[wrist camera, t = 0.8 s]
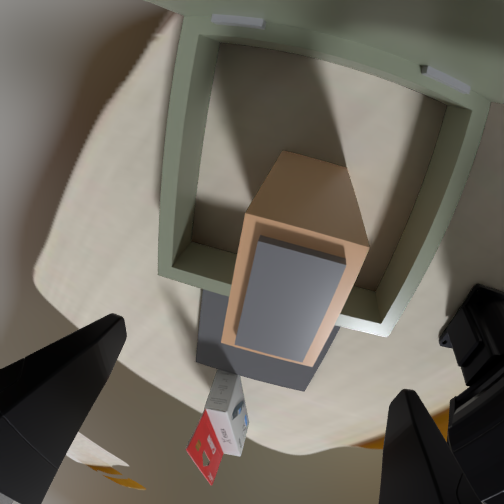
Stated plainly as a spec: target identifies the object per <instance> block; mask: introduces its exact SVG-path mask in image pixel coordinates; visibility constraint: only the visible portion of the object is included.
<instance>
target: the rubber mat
mask: <svg viewBox="0 0 504 504" xmlns="http://www.w3.org/2000/svg"><path fill="white" fill-rule="evenodd" d="M228 301H229V297H228V296H225V295H221V294H218V293H214V292H211V291H208V290H204V289H203V295H202V304H201V313H200V323H199V333H198V343H197V354H196V362H198V363H201V364H204V365H207V366H210V367H213V368H216V369H220V370H223V371H226V372H230V373H233V374H237V375H240V376H244V377H247V378H251V379H254V380H258V381H262V382H266V383H270V384H274V385H278V386H282V387H286V388H290V389H295V390H299V391H305V390H306V388H307V386H308V384H309V383H310V381H311V379H312V378H313V376H314V374H315V372H316V371H317V369H318V367H319V365H320V364H321V362H322V360H323V358H324V357H325V355H326V353H327V351H328V349H329V347H330V346H331V344H332V342H333V340H334V338H335V336H336V334H337V332H338V330H339V329H340V327H341V326H336V325H334V327H333V329H332V331H331V333H330V335H329V337H328V339H327V341H326V343H325V345H324V346H323V348H322V350H321V352H320V354H319V356H318V358H317V360H316V361H315V363H314V365H313V367H310V366H306V365H302V364H297V363H293V362H289V361H285V360H281V359H277V358H274V357H270V356H266V355H262V354H259V353H255V352H251V351H248V350H244V349H241V348H237V347H234V346H230V345H227V344H224V343H221V340H222V334H223V329H224V323H225V318H226V312H227V307H228Z"/></svg>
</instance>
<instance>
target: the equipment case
mask: <svg viewBox="0 0 504 504" xmlns="http://www.w3.org/2000/svg"><path fill="white" fill-rule="evenodd" d="M145 1H147V2H150V3H153V4H156V5H158V6H161V7H164V8H166V9H168V10H171V11H173V12H176V13H178V14H181V15H183V16H184V19H183V24H182V29H181V34H180V39H179V45H178V50H177V56H176V62H175V68H174V74H173V81H172V87H171V94H170V102H169V109H168V117H167V126H166V135H165V145H164V155H163V167H162V180H161V195H160V212H159V237H158V275H159V276H162V277H166V278H169V279H172V280H175V281H178V282H182V283H185V284H188V285H191V286H195V287H198V288H201V289H204V290H208V291H211V292H214V293H218V294H221V295H225V296H228V297H229V296H230V291H231V285H232V280H233V275H234V269H235V264H236V259H237V254H234V253H230V252H227V251H223V250H219V249H216V248H212V247H209V246H205V245H201V244H198V243H194V242H191V239H192V229H193V219H194V210H195V201H196V192H197V184H198V176H199V168H200V161H201V153H202V146H203V139H204V132H205V126H206V119H207V113H208V107H209V101H210V95H211V89H212V83H213V77H214V72H215V66H216V61H217V56H218V51H219V46H220V42H221V43H230V44H239V45H247V46H254V47H260V48H266V49H272V50H278V51H283V52H288V53H293V54H298V55H303V56H307V57H311V58H316V59H320V60H324V61H327V62H331V63H335V64H339V65H342V66H346V67H349V68H352V69H356V70H359V71H362V72H365V73H368V74H371V75H374V76H377V77H380V78H383V79H386V80H389V81H391V82H394V83H397V84H399V85H402V86H404V87H407V88H409V89H412V90H414V91H417V92H419V93H421V94H424V95H426V96H428V97H431V98H433V99H435V100H437V101H440V102H442V103H444V104H446V105H447V108H446V112H445V116H444V119H443V123H442V126H441V130H440V133H439V136H438V139H437V143H436V146H435V149H434V152H433V155H432V158H431V161H430V164H429V167H428V170H427V173H426V176H425V178H424V181H423V184H422V187H421V189H420V192H419V195H418V197H417V200H416V202H415V205H414V207H413V210H412V212H411V215H410V217H409V220H408V222H407V225H406V227H405V229H404V232H403V234H402V236H401V239H400V241H399V243H398V245H397V248H396V250H395V252H394V254H393V257H392V259H391V261H390V263H389V265H388V267H387V269H386V271H385V274H384V276H383V278H382V280H381V282H380V284H379V286H378V288H377V290H376V292H374V291H370V290H367V289H363V288H359V287H355V286H353V287H352V289H351V292H350V294H349V296H348V298H347V300H346V302H345V304H344V306H343V309H342V311H341V313H340V315H339V317H338V319H337V321H336V323H335V325H336V326H341V327H345V328H349V329H353V330H357V331H362V332H366V333H370V334H375V335H379V336H383V337H388V336H389V334H390V333H391V331H392V330H393V328H394V326H395V325H396V323H397V322H398V320H399V318H400V317H401V315H402V313H403V312H404V310H405V308H406V307H407V305H408V303H409V302H410V300H411V298H412V296H413V295H414V293H415V291H416V289H417V287H418V286H419V284H420V282H421V280H422V278H423V276H424V274H425V273H426V271H427V269H428V267H429V265H430V263H431V261H432V259H433V257H434V255H435V253H436V251H437V249H438V247H439V245H440V243H441V241H442V238H443V236H444V234H445V232H446V230H447V228H448V225H449V223H450V221H451V219H452V216H453V214H454V212H455V209H456V207H457V204H458V202H459V199H460V197H461V194H462V192H463V189H464V187H465V184H466V181H467V179H468V176H469V173H470V171H471V168H472V165H473V162H474V159H475V156H476V153H477V150H478V147H479V144H480V140H481V137H482V134H483V130H484V127H485V123H486V120H487V116H488V112H489V108H490V104H491V102H496V103H501V104H504V0H145Z"/></svg>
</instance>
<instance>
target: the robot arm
mask: <svg viewBox="0 0 504 504" xmlns="http://www.w3.org/2000/svg"><path fill="white" fill-rule="evenodd" d="M478 290H479V291H478ZM477 291H478V292H477ZM126 337H127V333H126V327H125V321H124V318H123V317H122V316H119V315H117V314H114V313H111V314H109V315H107V316H105V317H103V318H101V319H99V320H97V321H95V322H93V323H91V324H89V325H87V326H85V327H83V328H81V329H79V330H77V331H75V332H73V333H71V334H69V335H67V336H66V337H63V338H61V339H60V340H58V341H56V342H54V343H52V344H50V345H48V346H46V347H44V348H42V349H40V350H38V351H36V352H34V353H32V354H30V355H28V356H27V357H25V359H24V358H23V359H20V360H18V361H17V362H15V363H12V364H10V365H8V366H6V367H4V368H2V369H0V504H12V503H13V501H16V502H18V503H20V504H41V503H42V501H43V499H44V497H45V495H46V493H47V491H48V489H49V487H50V485H51V482H52V481H53V479H54V476H55V475H56V473H57V471H58V468H59V466H60V465H61V463H62V461H63V459H64V457H65V455H66V453H67V451H68V449H69V447H70V446H71V444H72V442H73V440H74V438H75V436H76V435H77V433H78V431H79V429H80V427H81V425H82V423H83V422H84V420H85V418H86V416H87V415H88V413H89V411H90V409H91V407H92V406H93V404H94V402H95V401H96V399H97V397H98V395H99V394H100V392H101V390H102V388H103V387H104V385H105V383H106V382H107V380H108V378H109V376H110V374H111V372H112V370H113V367H114V365H115V363H116V361H117V358H118V356H119V354H120V352H121V350H122V347H123V345H124V343H125V341H126ZM439 344H440V346H443V347H448V348H453V351H454V354H455V357H456V360H457V364H458V366H461V369H462V373H463V376H464V380H465V383H466V386H470V387H469V388H467V389H466V390H465V391H463V392H462V393H461V394H459V395H458V396H455V397H454V398H452V399H451V400H450V410H449V425H448V436H447V442H446V441H445V439H444V437H443V435H442V434H441V432H440V430H439V429H438V427H437V425H436V424H435V422H434V420H433V419H432V417H431V416H430V414H429V412H428V411H427V409H426V407H425V406H424V404H423V403H422V401H421V399H420V398H419V396H418V395H417V393H416V392H415V391H414V390H410V389H403V390H401V391H400V393H399V394H398V395H397V396H396V397H395V398H394V400H393V401H392V402H391V404H390V406H389V411H388V419H387V427H386V433H385V440H384V447H383V460H382V474H381V486H380V496H379V504H482V502H483V503H484V504H504V292H501V291H498V290H495V289H493V288H490V287H487V286H484V285H481V284H477V285H475V286H474V287H473V288H472V290H471V292H470V293H469V295H468V297H467V298H466V300H465V301H464V303H463V305H462V306H461V308H460V309H459V311H458V312H457V314H456V315H455V317H454V318H453V320H452V321H451V323H450V324H449V326H448V327H447V328H446V330H445V331H444V333H443V334H442V336H441V337H440V338H439Z"/></svg>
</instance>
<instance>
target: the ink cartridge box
mask: <svg viewBox="0 0 504 504" xmlns="http://www.w3.org/2000/svg"><path fill="white" fill-rule="evenodd" d="M248 425H249V420H248V415H247V409H246V404H245V399H244V393H243V389H242V384H241V378H240V375H237V374H233V373H230V372H226V371H223V370H220V369H218V370H217V372H216V375H215V378H214V381H213V384H212V387H211V390H210V393H209V396H208V399H207V401H206V404H205V408H204V411H203V413H202V416H201V418H200V420H199V422H198V424H197V426H196V428H195V430H194V432H193V434H192V436H191V439H190V440H189V442H188V445H187V447H186V451H187V452H188V454H189V455H190V457H191V458H192V460H193V461H194V462H195V464H196V465H197V467H198V468H199V470H200V471H201V472H202V474H203V475H204V477H205V478H206V479H207V481H208V482H209V483H210V485H212V484H213V481H214V479H215V476H216V473H217V470H218V468H219V464H220V462H221V458H222V456H223V454H230V455H236V456H241V453H242V449H243V445H244V441H245V437H246V433H247V429H248ZM203 451H204V452H205V454H206V455H207V457H208V458H209V463H208V465H207V466H203V458H202V454H203Z"/></svg>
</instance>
